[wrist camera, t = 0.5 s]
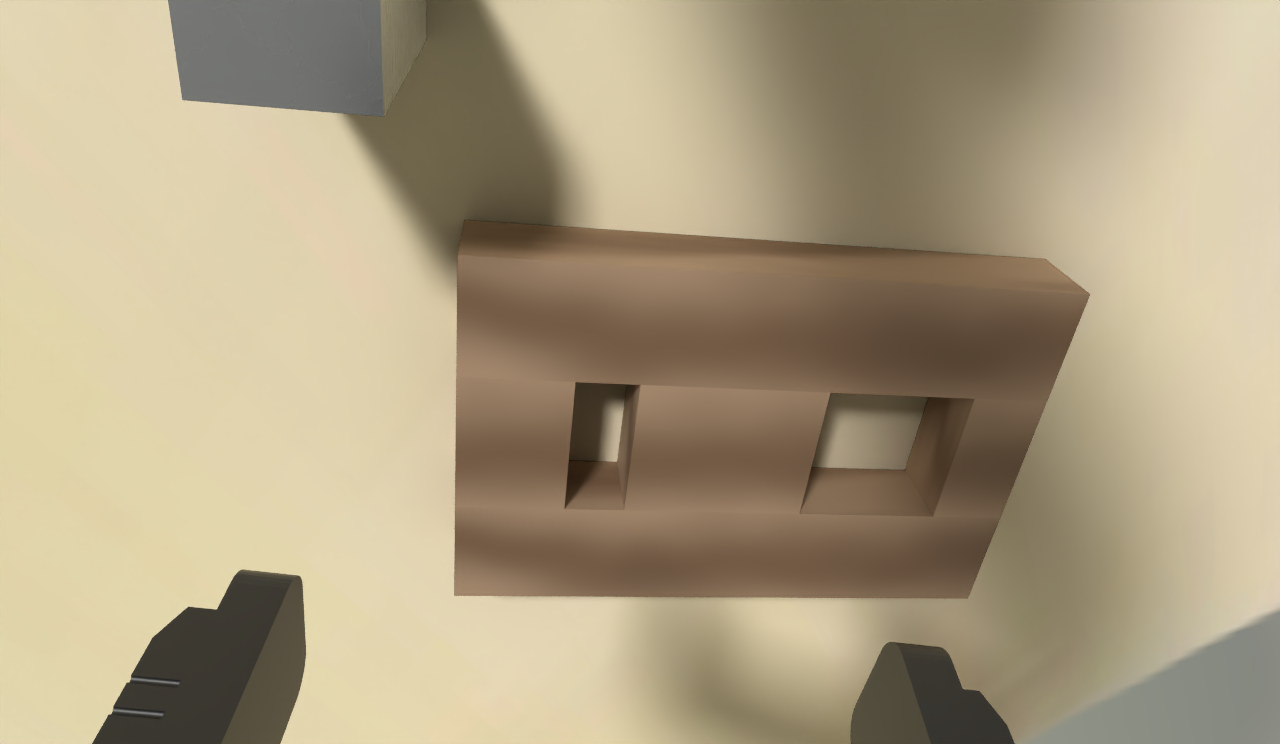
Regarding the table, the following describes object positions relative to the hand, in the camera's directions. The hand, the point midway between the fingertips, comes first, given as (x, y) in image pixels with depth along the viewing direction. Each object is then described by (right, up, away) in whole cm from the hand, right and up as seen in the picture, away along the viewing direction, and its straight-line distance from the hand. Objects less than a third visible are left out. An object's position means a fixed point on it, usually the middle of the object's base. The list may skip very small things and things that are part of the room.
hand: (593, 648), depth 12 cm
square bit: (-7, +16, +13) cm, 22 cm away
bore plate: (+4, +2, +22) cm, 23 cm away
